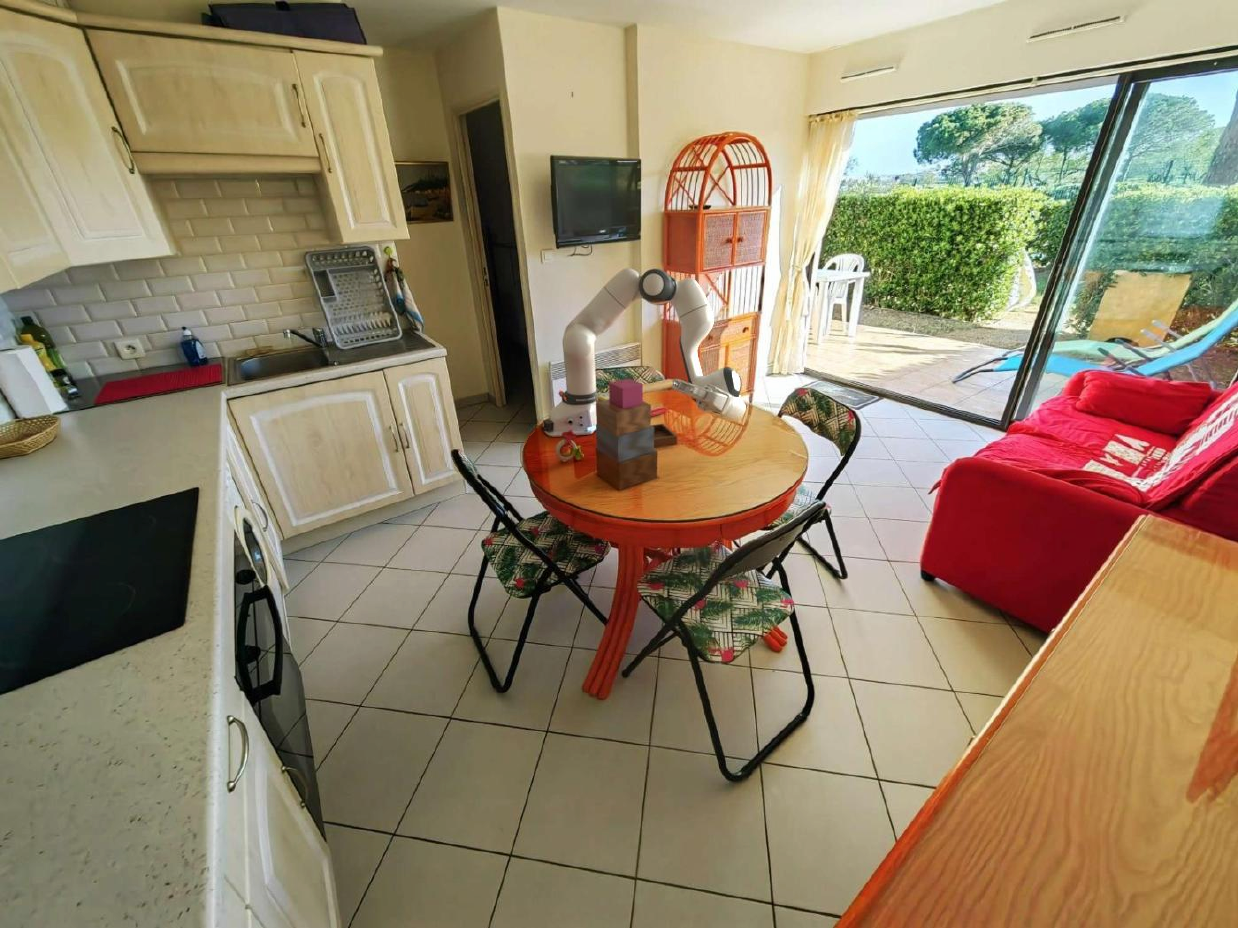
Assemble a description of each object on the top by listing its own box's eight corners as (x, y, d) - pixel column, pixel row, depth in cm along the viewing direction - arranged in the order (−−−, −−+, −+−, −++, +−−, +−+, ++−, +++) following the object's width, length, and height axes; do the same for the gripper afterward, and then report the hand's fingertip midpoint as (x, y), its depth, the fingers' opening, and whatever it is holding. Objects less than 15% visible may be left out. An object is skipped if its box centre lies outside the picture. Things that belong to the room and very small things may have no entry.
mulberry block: (663, 389, 160) (663, 370, 157) (677, 395, 154) (678, 376, 152) (609, 402, 150) (608, 382, 147) (622, 409, 145) (622, 388, 142)
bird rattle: (568, 471, 168) (590, 455, 170) (554, 446, 161) (576, 429, 163) (560, 464, 172) (581, 448, 175) (546, 439, 166) (568, 423, 168)
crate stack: (633, 462, 168) (632, 392, 157) (657, 477, 158) (658, 404, 147) (596, 473, 161) (593, 401, 150) (619, 490, 151) (618, 414, 141)
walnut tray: (632, 450, 176) (632, 442, 175) (621, 437, 187) (621, 429, 185) (676, 443, 181) (677, 436, 179) (662, 430, 191) (663, 423, 190)
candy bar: (663, 410, 210) (663, 404, 209) (668, 413, 208) (669, 406, 206) (631, 419, 203) (631, 412, 201) (636, 422, 200) (636, 414, 199)
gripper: (692, 382, 175) (665, 368, 166) (735, 398, 160) (708, 383, 151) (685, 399, 176) (657, 386, 167) (727, 416, 161) (699, 403, 152)
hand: (682, 385), depth 159 cm, fingers open, 8 cm apart
